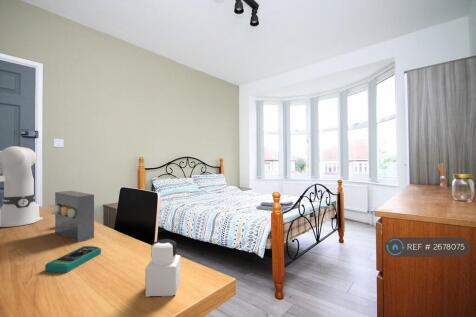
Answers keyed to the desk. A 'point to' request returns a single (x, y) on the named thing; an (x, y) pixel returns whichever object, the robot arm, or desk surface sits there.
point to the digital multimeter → (72, 259)
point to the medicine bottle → (163, 269)
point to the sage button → (71, 213)
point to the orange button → (64, 211)
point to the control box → (84, 215)
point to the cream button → (56, 209)
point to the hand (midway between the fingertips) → (10, 177)
